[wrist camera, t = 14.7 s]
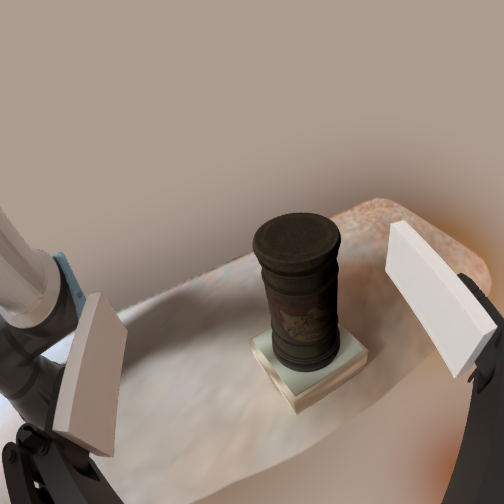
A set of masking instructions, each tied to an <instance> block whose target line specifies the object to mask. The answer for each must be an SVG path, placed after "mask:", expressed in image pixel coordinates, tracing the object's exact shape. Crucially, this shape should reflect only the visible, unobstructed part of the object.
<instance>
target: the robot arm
mask: <svg viewBox="0 0 504 504" xmlns="http://www.w3.org/2000/svg"><path fill="white" fill-rule="evenodd" d="M385 271H386V273H387V274H388V275H389V277H390V278H391V280H392V281H393V282H394V284H395V285H396V287H397V288H398V289H399V291H400V292H401V294H402V295H403V297H404V298H405V300H406V301H407V302H408V304H409V305H410V307H411V308H412V310H413V311H414V313H415V314H416V316H417V317H418V319H419V321H420V322H421V324H422V325H423V327H424V328H425V330H426V331H427V333H428V335H429V336H430V338H431V339H432V341H433V343H434V344H435V346H436V348H437V349H438V351H439V352H440V354H441V356H442V358H443V359H444V361H445V363H446V364H447V366H448V368H449V370H450V371H451V373H452V375H453V377H454V378H456V377H458V376H460V375H461V374H463V373H465V372H466V371H468V370H469V369H470V367H471V366H472V365H473V363H474V362H475V364H476V366H477V368H476V369H475V371H474V372H473V373H472V375H471V376H470V377H469V379H468V382H471V380H472V379H473V378H474V382H473V390H472V396H471V403H470V408H469V413H468V418H467V423H466V427H465V432H464V436H463V440H462V444H461V447H460V451H459V454H458V458H457V462H456V464H455V468H454V471H453V474H452V477H451V480H450V482H449V485H448V488H447V490H446V493H445V496H444V498H443V501H442V503H441V504H504V318H503V317H502V316H501V315H500V313H499V312H498V311H497V309H496V308H495V307H494V306H493V304H492V303H491V302H490V300H489V299H488V298H487V297H485V294H484V293H483V292H482V291H481V290H479V287H478V286H477V285H476V284H475V282H474V281H473V280H472V279H470V278H469V277H467V276H466V275H464V274H463V273H460V274H457V275H456V274H455V273H454V272H453V271H452V269H451V268H450V267H449V266H448V265H447V264H446V263H445V262H444V261H443V259H442V258H441V257H440V256H439V255H438V254H437V253H436V252H435V251H434V250H433V249H432V248H431V247H430V246H429V244H428V243H427V242H426V241H425V240H424V239H423V238H422V237H421V236H420V235H419V234H418V233H417V232H416V231H415V230H414V229H413V228H412V227H411V226H410V225H409V224H408V223H407V222H406V221H405V220H404V221H400V222H395V223H391V227H390V236H389V245H388V253H387V260H386V267H385ZM75 330H76V332H75V335H74V339H73V342H72V345H71V349H70V352H69V356H68V360H67V363H66V367H63V366H61V365H60V364H58V363H56V362H53V361H50V360H49V359H47V358H46V357H44V356H42V355H40V354H42V353H43V352H44V351H46V350H47V349H49V348H50V347H52V346H53V345H55V344H56V343H57V342H59V341H60V340H62V339H63V338H65V337H66V336H68V335H69V334H71V333H72V332H73V331H75ZM127 333H128V330H127V329H126V328H125V326H124V325H123V323H122V322H121V321H120V319H119V318H118V316H117V315H116V313H115V312H114V310H113V309H112V307H111V306H110V304H109V303H108V301H107V300H106V298H105V297H104V295H103V294H102V292H99V293H94V294H89V295H88V297H87V299H86V298H85V296H84V294H83V292H82V290H81V288H80V286H79V284H78V282H77V280H76V278H75V276H74V274H73V272H72V270H71V267H70V265H69V263H68V262H67V259H66V257H65V255H64V254H63V253H62V252H60V253H57V254H53V255H52V256H50V255H49V254H48V253H47V252H45V251H43V250H40V249H31V248H30V247H29V245H28V244H27V243H26V242H25V240H24V239H23V238H22V237H21V235H20V234H19V232H18V231H17V230H16V228H15V227H14V226H13V225H12V223H11V222H10V220H9V219H8V218H7V216H6V215H5V213H4V212H3V211H2V209H1V208H0V393H1V394H2V395H3V396H5V397H6V398H7V399H8V400H9V401H10V403H11V404H12V405H13V407H14V408H15V409H16V411H17V412H18V413H19V415H20V416H21V418H22V419H23V420H24V421H25V422H26V423H25V424H23V425H22V426H21V427H20V428H19V429H18V432H17V435H16V444H15V443H13V442H8V443H7V444H6V445H5V446H4V448H3V451H2V462H3V468H4V474H5V479H6V484H7V489H8V493H9V497H10V501H11V504H124V503H123V502H122V500H121V499H120V498H119V497H118V495H117V494H116V493H115V491H114V490H113V489H112V487H111V486H110V484H109V483H108V482H107V480H106V479H105V477H104V476H103V474H102V473H101V472H100V470H99V469H98V467H97V466H96V464H95V462H94V461H93V460H92V459H91V458H90V457H89V452H91V453H93V454H95V455H97V456H102V457H114V441H115V427H116V415H117V404H118V395H119V386H120V378H121V371H122V364H123V357H124V351H125V345H126V339H127ZM34 481H35V482H37V483H39V489H38V488H36V487H35V485H34Z"/></svg>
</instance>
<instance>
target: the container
mask: <svg viewBox="0 0 504 504" xmlns="http://www.w3.org/2000/svg"><path fill="white" fill-rule="evenodd" d="M340 244H341V235H340V232H339V229H338V227H337V226H336V224H335V223H334V222H333V221H331V220H330V219H328V218H326V217H324V216H321V215H318V214H314V213H291V214H285V215H282V216H278V217H276V218H273V219H271V220H269V221H268V222H266V223H264V224H263V225H262V226H261V227H260V228H259V229H258V230H257V232H256V233H255V235H254V239H253V251H254V253H255V255H256V257H257V258H258V261H259V263H260V265H261V266H262V271H261V275H262V279H263V281H264V284H265V289H266V294H267V299H268V303H269V308H270V313H271V327H272V348H273V352H274V354H275V356H276V358H277V359H278V360H279V362H280V363H281V364H282V365H284V366H285V367H287V368H289V369H291V370H293V371H297V372H314V371H317V370H320V369H322V368H324V367H326V366H327V365H329V364H330V363H331V362H332V361H333V360H334V358H335V357H336V355H337V354H338V351H339V348H340V331H339V328H338V315H337V290H338V272H339V266H338V263H337V256H338V249H339V247H340Z"/></svg>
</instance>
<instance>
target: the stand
mask: <svg viewBox="0 0 504 504" xmlns="http://www.w3.org/2000/svg"><path fill="white" fill-rule="evenodd" d="M338 328H339V331H340V348H339V351H338V354H337V355H336V357H335V358H334V360H333V361H332V362H331V363H330V364H329V365H327V366H326V367H324V368H322V369H320V370H317V371H314V372H297V371H293V370H291V369H289V368H287V367H285V366H284V365H282V364H281V363H280V362H279V360H278V359H277V358H276V356H275V354H274V352H273V348H272V327H271V328H269V329H268V330H266V331H264V332H262V333H260V334H258V335H257V336H255V337H253V338H251V339H249V343H250V346H251V349H252V352H253V355H254V357H255V359H256V360H257V361H258V363H259V364H260V366H261V367H262V369H263V370H264V371H265V373H266V374H267V376H268V377H269V378H270V380H271V381H272V383H273V384H274V385H275V387H276V388H277V389H278V391H279V392H280V394H281V395H282V396H283V398H284V399H285V400H286V402H287V403H288V404H289V406H290V407H291V408H292V410H293V411H294V412H295V414H298V413H300V412H301V411H303V410H305V409H306V408H308V407H309V406H311V405H313V404H314V403H316V402H317V401H319V400H320V399H322V398H323V397H325V396H326V395H328V394H329V393H331V392H332V391H334V390H335V389H336V388H338V387H339V386H341V385H342V384H344V383H345V382H346V381H348V380H349V379H350V378H352V377H353V376H355V375H356V374H357V373H359V372H360V371H361V370H363V369H364V368H365V365H366V361H367V357H368V352H369V351H368V350H367V349H366V348H365V347H364V346H363V345H362V344H361V343H360V342H359V341H358V340H357V339H356V338H355V337H354V336H353V335H351V334H350V333H349V332H348V331H347V330H346V329H345V328H344V327H343V326H342V325H341V324H340V323H339V322H338Z"/></svg>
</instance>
